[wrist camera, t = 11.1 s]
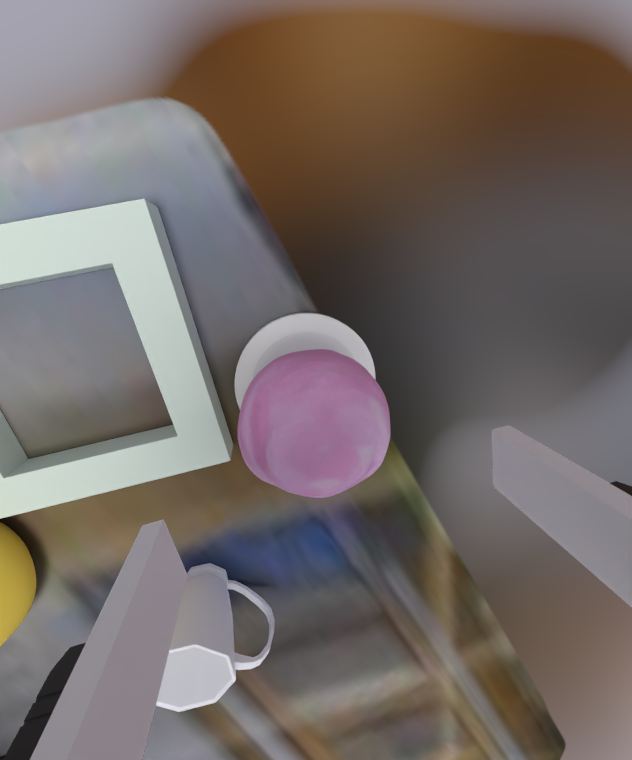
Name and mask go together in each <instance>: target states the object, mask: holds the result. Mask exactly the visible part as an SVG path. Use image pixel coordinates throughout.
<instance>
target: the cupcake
mask: <svg viewBox="0 0 632 760" xmlns="http://www.w3.org/2000/svg"><path fill="white" fill-rule="evenodd" d="M389 416H390V415H389V409H388V404H387V401H386V398H385V396H384V394H383V391H382V390H381V388H380V386H379V385H378V383H377V382H376V381H375V379H374V378H373V376H372V375H371V374H370V373H369V372H368V371H367V369H366V368H364V367H363V366H362V365H361V364H360V363H358V362H357V361H355V360H354V359H352V358H350V357H347V356H345V355H342V354H340V353H338V352H335V351H333V350H326V349H314V350H304V351H297V352H292V353H288V354H285V355H283V356H280V357H278V358H276V359H275V360H273V361H272V362H270V363H269V364H268V365H266V366H265V367H264V368H263V369H262V370H261V371H260V372H258V373H257V375H256V376H255V377H254V379H253V380H252V381H251V382H250V384H249V386H248V388H247V390H246V392H245V395H244V398H243V401H242V405H241V409H240V414H239V420H238V432H237V435H238V442H239V447H240V450H241V454H242V456H243V459H244V461H245V463H246V465H247V466H248V468H249V469H250V470H251V471H252V473H253V474H254V475H256V476H257V477H258V478H259V479H261V480H262V481H264V482H267V483H269V484H272V485H274V486H276V487H279V488H281V489H283V490H285V491H287V492H290V493H293V494H297V495H301V496H306V497H312V498H325V497H330V496H333V495H336V494H339V493H341V492H343V491H345V490H347V489H349V488H351V487H353V486H355V485H357V484H358V483H360V482H361V481H363V480H364V479H366V478H368V477H369V476H370V475H372V474H373V473H374V472H375V471H376V470H377V469H378V468H379V467H380V466H381V464H382V462H383V460H384V457H385V455H386V452H387V448H388V444H389V441H390V417H389Z"/></svg>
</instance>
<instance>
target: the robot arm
mask: <svg viewBox="0 0 632 760" xmlns="http://www.w3.org/2000/svg"><path fill="white" fill-rule="evenodd" d="M492 465H493V487H495V488H496V489H497V490H498V491H499V492H500V493H501V494H503V495H504V496H505V497H506V498H507V499H508V500H509V501H511V502H512V503H513V504H514V505H515V506H516V507H518V508H519V509H520V510H521V511H522V512H523V513H524V514H525V515H527V516H528V517H529V518H530V519H531V520H532V521H533V522H535V523H536V524H537V525H538V526H539V527H540V528H542V529H543V530H544V531H545V532H546V533H547V534H548V535H550V536H551V537H552V538H553V539H554V540H555V541H556V542H557V543H559V544H560V545H561V546H562V547H563V548H564V549H566V550H567V551H568V552H569V553H570V554H571V555H573V556H574V557H575V558H576V559H577V560H578V561H579V562H580V563H582V564H583V565H584V566H585V567H586V568H587V569H588V570H590V571H591V572H592V573H593V574H594V575H595V576H596V577H598V578H599V579H600V580H601V581H602V582H603V583H604V584H606V585H607V586H608V587H609V588H610V589H611V590H612V591H614V592H615V593H616V594H617V595H618V596H619V597H620V598H622V599H623V600H624V601H625V602H626V603H627V604H628V605H630V606H631V607H632V486H628V485H626V484H623V483H620V482H617V481H616V482H612V483H608V482H606V481H605V480H603V479H601V478H599V477H598V476H596V475H594V474H593V473H591V472H589V471H587V470H586V469H584V468H582V467H580V466H579V465H577V464H575V463H573V462H572V461H570V460H568V459H566V458H564V457H563V456H561V455H560V454H558V453H556V452H554V451H553V450H551V449H549V448H547V447H546V446H544V445H542V444H540V443H538V442H537V441H535V440H533V439H532V438H530V437H528V436H526V435H525V434H523V433H521V432H519V431H518V430H516V429H514V428H513V427H511V426H509V425H508V426H504V427H501V428H498V429H494V430H492ZM187 576H188V575H187V572H186V570H185V568H184V566H183V563H182V561H181V559H180V556H179V554H178V552H177V549H176V547H175V545H174V542H173V540H172V538H171V535H170V533H169V531H168V528H167V526H166V524H165V521H164V519H163V520H160V521H156V522H152V523H149V524H145V525H142V527H141V529H140V531H139V533H138V535H137V537H136V539H135V541H134V544H133V546H132V548H131V550H130V552H129V554H128V556H127V558H126V560H125V562H124V564H123V566H122V569H121V571H120V573H119V575H118V577H117V579H116V581H115V583H114V585H113V587H112V589H111V592H110V594H109V596H108V598H107V600H106V602H105V604H104V606H103V608H102V610H101V612H100V614H99V617H98V619H97V621H96V623H95V625H94V627H93V629H92V631H91V633H90V635H89V637H88V639H87V642H86V643H84V644H80V645H77V646H74V647H70V648H69V650H68V651H67V652H66V653H65V654H64V656H63V657H62V658H61V659H60V661H59V662H58V663H57V664H56V666H55V667H54V668H53V669H52V670H51V672H50V673H49V675H48V677H47V679H46V681H45V683H44V685H43V687H42V688H41V690H40V692H39V694H38V696H37V698H36V699H37V700H36V703H34V704H33V705H32V707H31V709H30V711H29V713H28V715H27V716H26V718H25V720H24V725H23V726H22V727H21V728H20V730H19V731H18V733H17V735H16V737H15V739H14V741H13V743H12V744H11V746H10V748H9V750H8V752H7V754H6V756H5V758H1V759H0V760H143V756H144V752H145V748H146V744H147V740H148V736H149V732H150V727H151V723H152V719H153V715H154V711H155V707H156V703H157V699H158V695H159V690H160V686H161V682H162V678H163V674H164V670H165V666H166V662H167V658H168V654H169V649H170V645H171V641H172V637H173V633H174V629H175V625H176V621H177V617H178V613H179V608H180V604H181V600H182V596H183V592H184V588H185V584H186V580H187Z"/></svg>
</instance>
